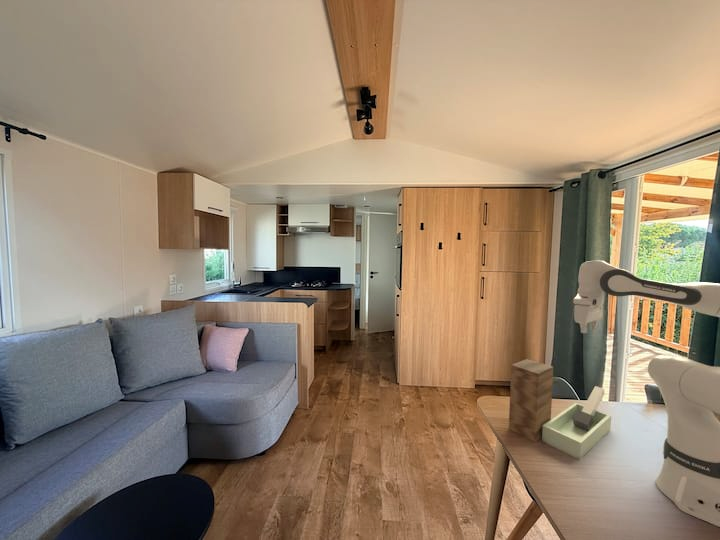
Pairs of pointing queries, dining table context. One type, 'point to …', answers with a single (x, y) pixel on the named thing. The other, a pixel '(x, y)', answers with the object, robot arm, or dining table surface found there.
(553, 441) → the bin
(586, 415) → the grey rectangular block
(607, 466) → the dining table surface
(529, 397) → the stand
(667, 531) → the dining table surface
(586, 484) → the dining table surface
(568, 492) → the dining table surface
